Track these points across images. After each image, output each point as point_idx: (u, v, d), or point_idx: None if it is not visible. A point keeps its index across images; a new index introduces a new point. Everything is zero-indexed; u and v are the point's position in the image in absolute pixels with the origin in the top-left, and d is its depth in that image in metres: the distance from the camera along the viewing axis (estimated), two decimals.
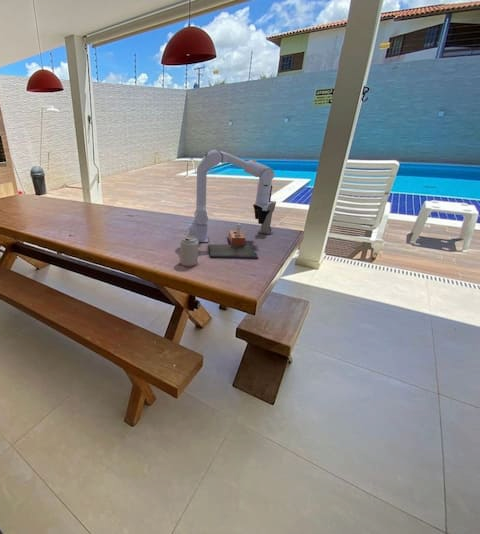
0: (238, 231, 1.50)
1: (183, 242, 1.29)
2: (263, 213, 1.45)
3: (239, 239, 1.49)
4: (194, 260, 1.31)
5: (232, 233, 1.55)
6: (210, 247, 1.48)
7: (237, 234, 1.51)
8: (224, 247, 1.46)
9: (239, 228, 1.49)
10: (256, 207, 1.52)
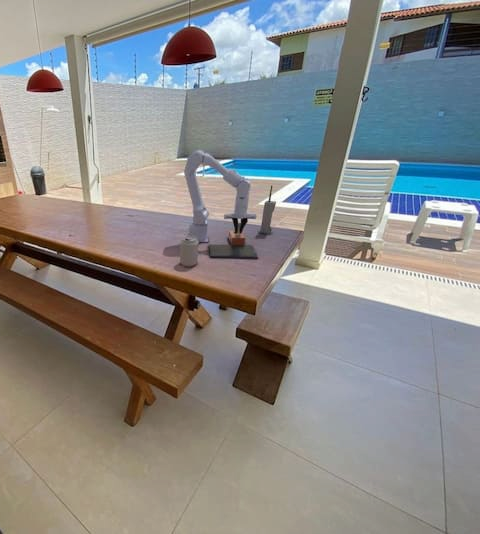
0: (238, 231, 1.50)
1: (183, 242, 1.29)
2: None
3: (239, 239, 1.49)
4: (194, 260, 1.31)
5: (232, 233, 1.55)
6: (210, 247, 1.48)
7: (237, 234, 1.51)
8: (224, 247, 1.46)
9: (239, 228, 1.49)
10: (241, 220, 1.49)
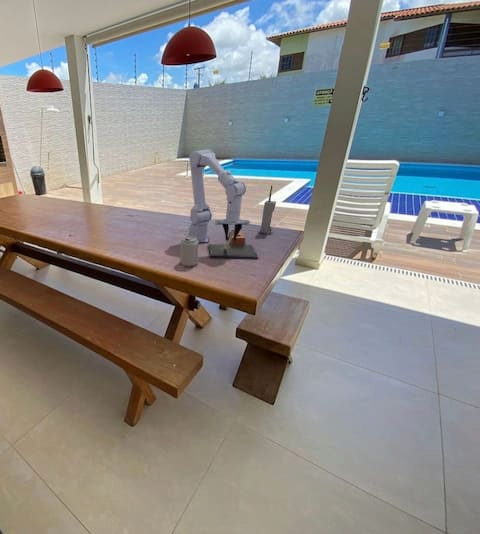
0: (230, 238, 1.40)
1: (183, 242, 1.29)
2: None
3: (239, 239, 1.49)
4: (194, 260, 1.31)
5: None
6: (210, 247, 1.48)
7: (228, 240, 1.41)
8: None
9: (232, 235, 1.39)
10: None
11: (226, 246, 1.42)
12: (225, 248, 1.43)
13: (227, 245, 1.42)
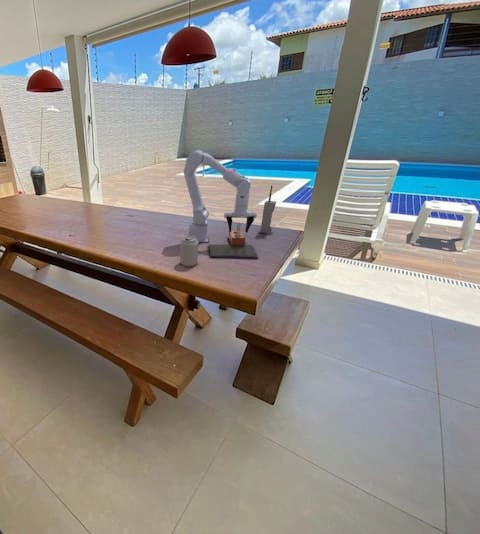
0: (238, 231, 1.50)
1: (183, 242, 1.29)
2: None
3: (239, 239, 1.49)
4: (194, 260, 1.31)
5: (232, 233, 1.55)
6: (210, 247, 1.48)
7: (237, 234, 1.51)
8: (224, 247, 1.46)
9: (239, 228, 1.49)
10: (247, 219, 1.49)
11: None
12: None
13: None
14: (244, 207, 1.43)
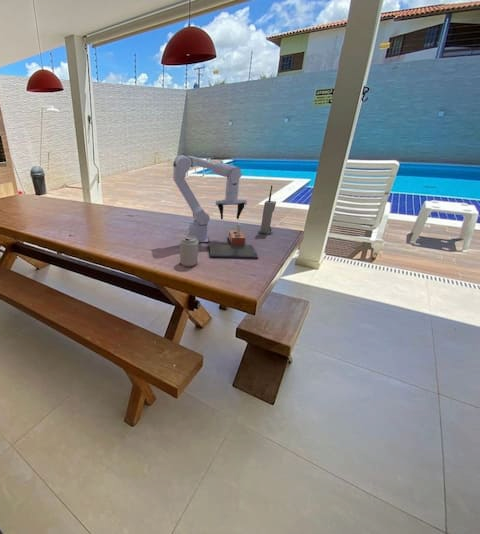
0: (238, 231, 1.50)
1: (183, 242, 1.29)
2: None
3: (239, 239, 1.49)
4: (194, 260, 1.31)
5: (232, 233, 1.55)
6: (210, 247, 1.48)
7: (237, 234, 1.51)
8: (224, 247, 1.46)
9: (239, 228, 1.49)
10: None
11: None
12: None
13: None
14: (234, 194, 1.48)
